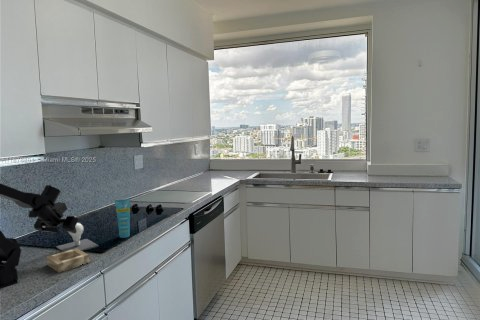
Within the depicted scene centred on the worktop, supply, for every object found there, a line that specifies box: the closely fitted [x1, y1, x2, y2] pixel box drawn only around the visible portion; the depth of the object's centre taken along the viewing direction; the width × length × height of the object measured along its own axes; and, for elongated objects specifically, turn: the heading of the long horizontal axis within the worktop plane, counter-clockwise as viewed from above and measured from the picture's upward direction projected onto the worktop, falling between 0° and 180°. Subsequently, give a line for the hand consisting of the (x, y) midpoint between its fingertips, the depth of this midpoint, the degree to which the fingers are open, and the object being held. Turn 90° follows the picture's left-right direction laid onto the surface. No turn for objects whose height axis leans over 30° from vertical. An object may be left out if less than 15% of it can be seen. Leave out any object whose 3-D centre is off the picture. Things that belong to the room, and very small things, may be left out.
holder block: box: [46, 248, 90, 274], centre depth 141 cm, size 12×12×4 cm
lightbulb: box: [68, 222, 84, 246], centre depth 160 cm, size 6×6×11 cm
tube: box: [114, 198, 131, 239], centre depth 174 cm, size 7×5×19 cm, turn 119°
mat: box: [55, 238, 99, 252], centre depth 161 cm, size 14×14×1 cm
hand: (67, 232), depth 155 cm, fingers open, 9 cm apart
